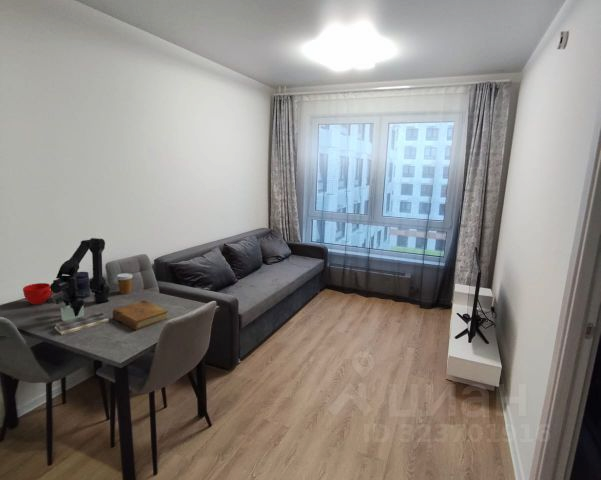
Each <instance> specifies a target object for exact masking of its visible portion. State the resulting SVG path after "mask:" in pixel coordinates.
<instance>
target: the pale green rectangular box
mask: <svg viewBox="0 0 601 480" xmlns="http://www.w3.org/2000/svg"><path fill="white" fill-rule="evenodd" d="M69 306H70V305H69ZM69 306H66V305H65V306H62V307H60V314H61V315H60V316H61V321H63V322H66V321H69V320H73V319H77V318H81V317H84V316H85V307H84V305H83V306H82V308H81V309H80V312H79V314H78V316H76V317H75V315H74V312H73V308H71V307H69Z"/></svg>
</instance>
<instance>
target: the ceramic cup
mask: <svg viewBox="0 0 601 480" xmlns="http://www.w3.org/2000/svg"><path fill="white" fill-rule="evenodd" d="M50 286H51V284H50V283H47V282H39V283H38V282H37V283H32V284H31V283H30V284H29V285H26V286H24V287H23V288H22V291H23V297H24V299H25V300H26V301H27V302H28V303H30V304H32V305H41V304H44V303H45V302H46V301H47V300H48V299H49V298H52V297H53V294H54V293H53V292H52V291H51V289H50Z"/></svg>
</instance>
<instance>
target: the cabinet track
mask: <svg viewBox="0 0 601 480" xmlns="http://www.w3.org/2000/svg"><path fill="white" fill-rule="evenodd" d="M107 322H109V318H108V315H107V314H106V313H104V312H103V311H99V312H96V313H93V314H89V315H84V316H81V317H78V318H74V319H70V320H67V321H63V322H60V323H59V322H58V323H56V324H55V326H54V329H55V330H56V331H57V332H58V333H59V334H61V336H63V334H64V335H67V334H71V333H73V332H76V331H81V330H84V329H87V328H91V327H93V326H97V325H101V324H103V323H107Z"/></svg>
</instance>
